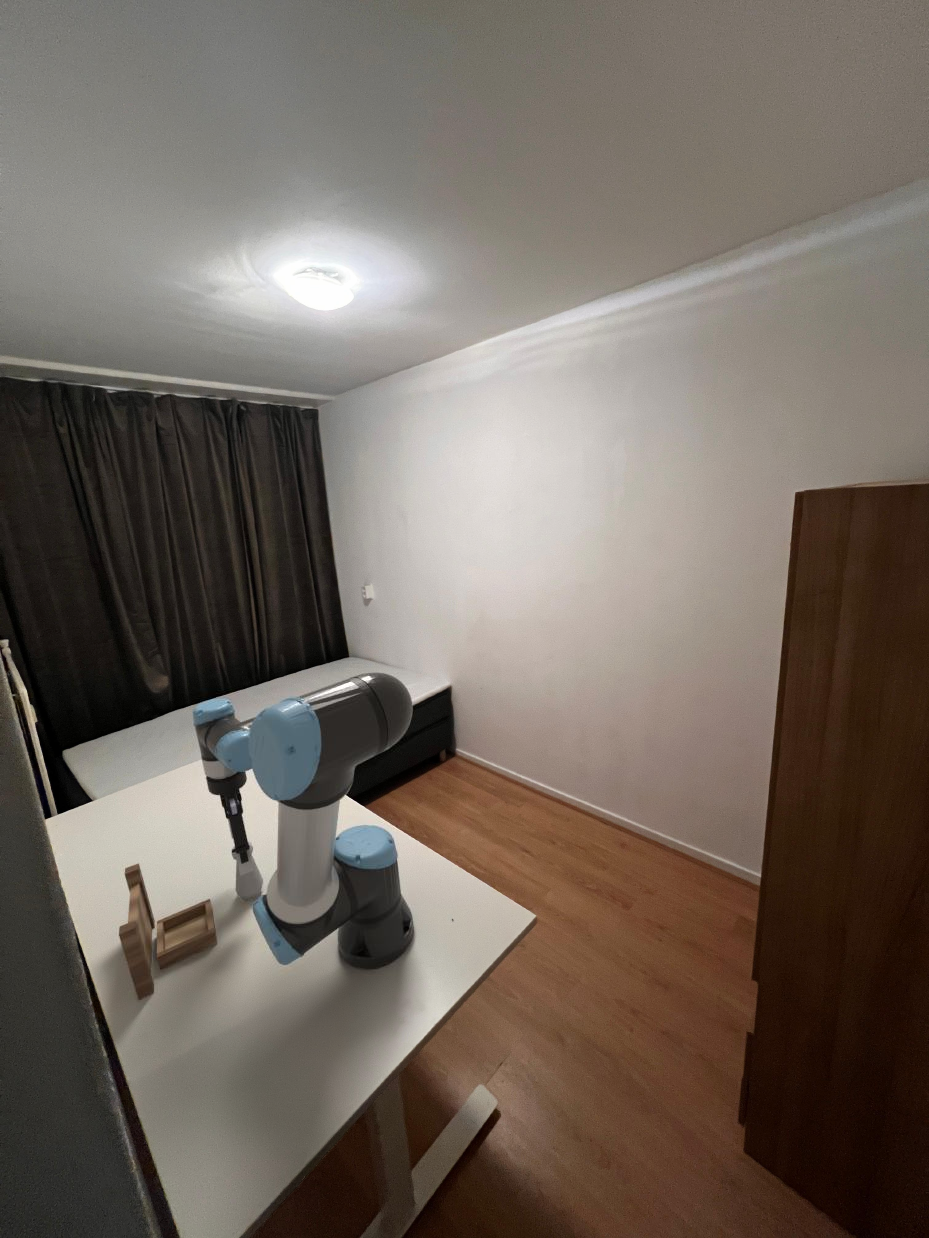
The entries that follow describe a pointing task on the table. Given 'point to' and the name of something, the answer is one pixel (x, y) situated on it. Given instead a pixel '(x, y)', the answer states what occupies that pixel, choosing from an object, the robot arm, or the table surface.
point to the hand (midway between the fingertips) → (242, 852)
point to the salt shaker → (248, 880)
